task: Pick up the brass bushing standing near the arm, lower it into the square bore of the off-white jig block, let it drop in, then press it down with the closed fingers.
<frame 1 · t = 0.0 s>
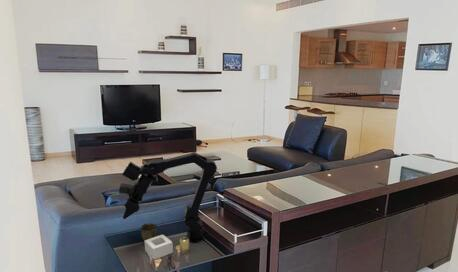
hand: (125, 214, 151), 15 cm above the table, tool tilted 35°, fingers open, 9 cm apart
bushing: (184, 251, 147), on the table
jig: (158, 251, 147), on the table
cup: (149, 242, 155), on the table
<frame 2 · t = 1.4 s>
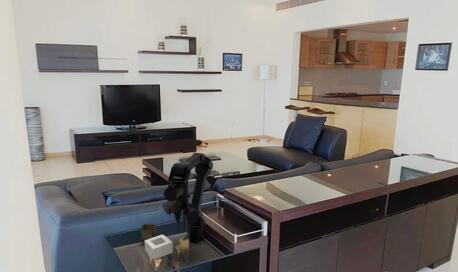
hand: (183, 226, 145), 12 cm above the table, tool pointing down, fingers open, 9 cm apart
nothing on the table moved.
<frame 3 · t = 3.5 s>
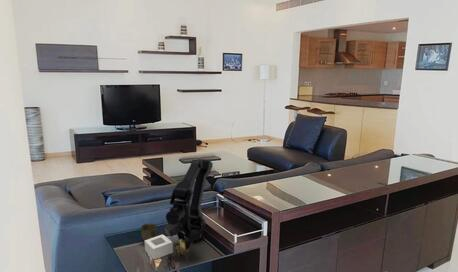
hand: (184, 247, 147), 2 cm above the table, tool pointing down, fingers closed on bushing, 4 cm apart
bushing: (184, 251, 147), on the table, touching gripper
everything else where it was.
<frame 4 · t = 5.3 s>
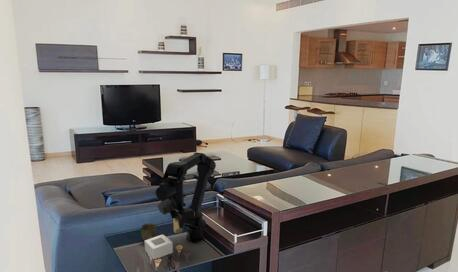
hand: (178, 226, 145), 12 cm above the table, tool pointing down, fingers closed on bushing, 4 cm apart
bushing: (178, 230, 145), point 10 cm above the table, touching gripper
everything else where it was.
when the fingers open (6 cm above the table, at t = 7.4 s): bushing drops 4 cm, resting in jig.
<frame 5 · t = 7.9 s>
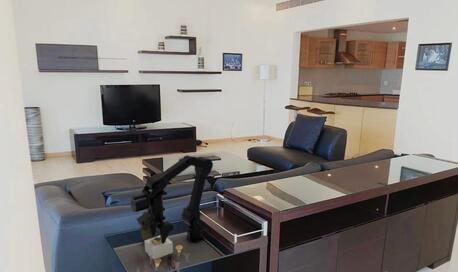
hand: (158, 239, 146), 6 cm above the table, tool pointing down, fingers open, 9 cm apart
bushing: (158, 251, 147), resting in jig
everything else where it was.
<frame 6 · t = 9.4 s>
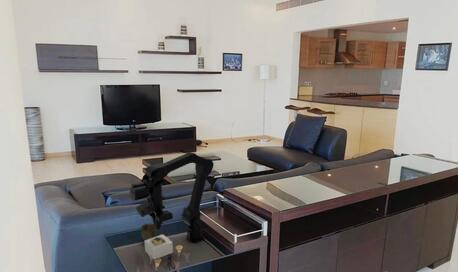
hand: (157, 228, 145), 11 cm above the table, tool pointing down, fingers closed
nothing on the table moved.
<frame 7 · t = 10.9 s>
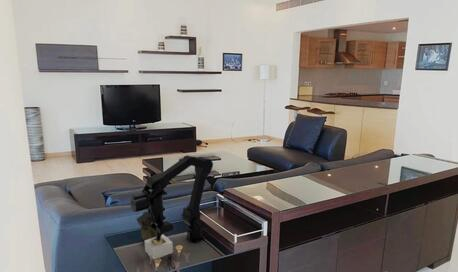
hand: (158, 239, 146), 6 cm above the table, tool pointing down, fingers closed, pressing on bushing
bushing: (158, 251, 147), resting in jig, touching gripper
everything else where it was.
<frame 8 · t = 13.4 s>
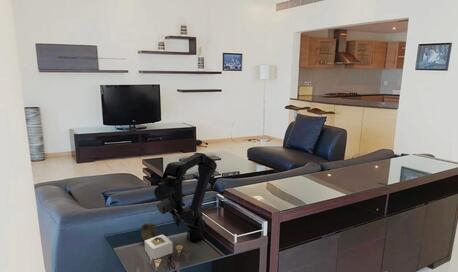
hand: (177, 226, 145), 12 cm above the table, tool pointing down, fingers closed
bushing: (158, 251, 147), resting in jig
everything else where it was.
at the end: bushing 0.0 cm from the jig (horizontally); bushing resting in jig; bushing tilted 0° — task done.
